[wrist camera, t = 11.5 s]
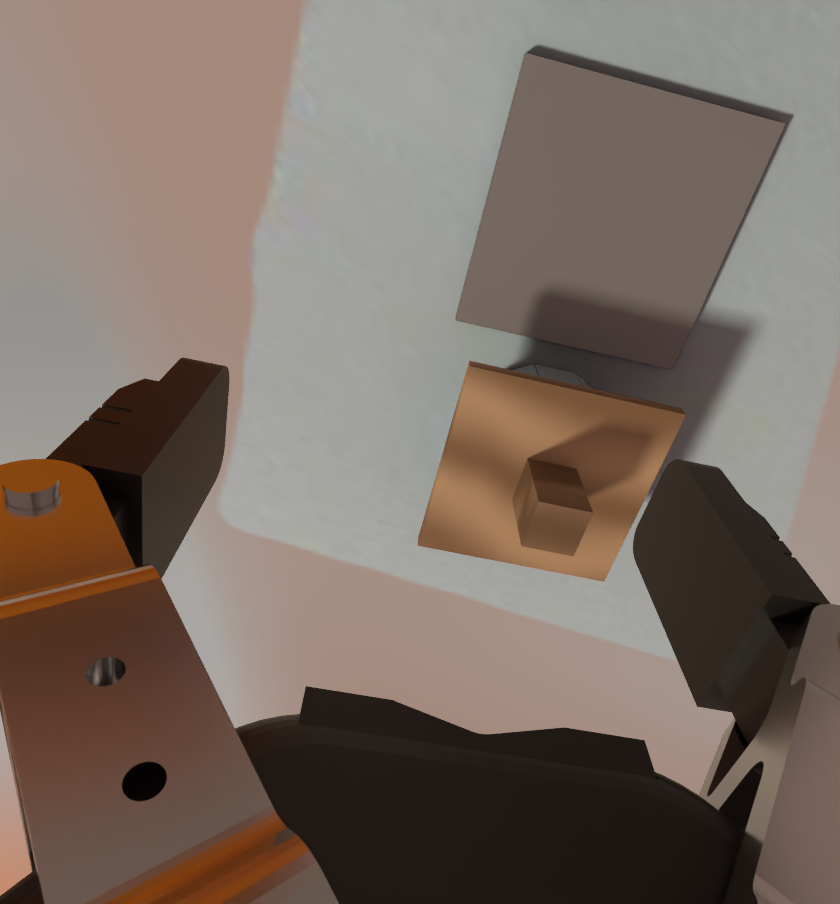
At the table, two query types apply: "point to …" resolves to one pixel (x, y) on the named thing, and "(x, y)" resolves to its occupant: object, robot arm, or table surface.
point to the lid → (544, 471)
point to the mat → (610, 212)
